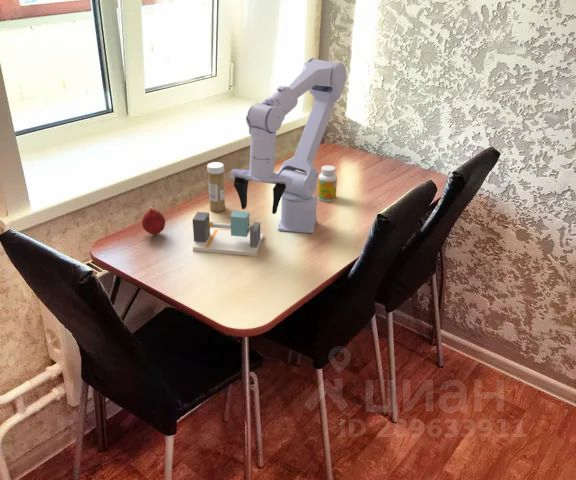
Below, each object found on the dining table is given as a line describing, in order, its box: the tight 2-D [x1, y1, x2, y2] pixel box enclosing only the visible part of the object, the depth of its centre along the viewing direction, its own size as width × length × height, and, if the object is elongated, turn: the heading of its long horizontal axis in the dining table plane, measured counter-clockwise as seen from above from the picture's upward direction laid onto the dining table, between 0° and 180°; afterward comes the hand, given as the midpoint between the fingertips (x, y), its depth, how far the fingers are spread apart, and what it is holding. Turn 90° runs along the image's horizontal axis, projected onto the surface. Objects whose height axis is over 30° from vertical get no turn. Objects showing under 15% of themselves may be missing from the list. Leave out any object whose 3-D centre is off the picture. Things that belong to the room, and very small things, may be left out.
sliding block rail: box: [192, 211, 265, 257], centre depth 145 cm, size 16×10×7 cm, turn 81°
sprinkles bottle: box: [206, 161, 226, 213], centre depth 161 cm, size 5×5×14 cm
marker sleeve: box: [230, 210, 250, 237], centre depth 143 cm, size 4×3×5 cm
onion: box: [141, 206, 166, 236], centre depth 148 cm, size 6×6×8 cm
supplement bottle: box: [317, 164, 338, 203], centre depth 169 cm, size 5×5×10 cm
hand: (259, 210), depth 140 cm, fingers open, 7 cm apart
